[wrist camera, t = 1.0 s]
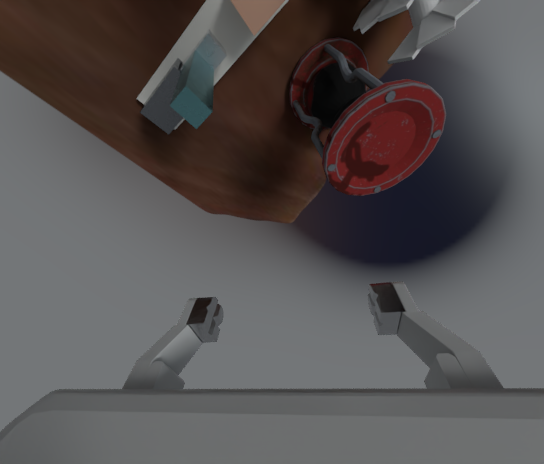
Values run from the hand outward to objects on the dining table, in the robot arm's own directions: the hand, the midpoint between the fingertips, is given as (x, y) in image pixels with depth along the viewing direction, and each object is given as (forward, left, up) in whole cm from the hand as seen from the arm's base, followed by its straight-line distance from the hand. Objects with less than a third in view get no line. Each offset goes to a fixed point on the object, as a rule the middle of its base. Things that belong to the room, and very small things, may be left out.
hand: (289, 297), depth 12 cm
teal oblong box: (-9, -3, -43) cm, 44 cm away
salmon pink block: (+1, +9, -44) cm, 45 cm away
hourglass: (+18, -2, -46) cm, 49 cm away
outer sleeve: (-12, -6, -44) cm, 46 cm away
